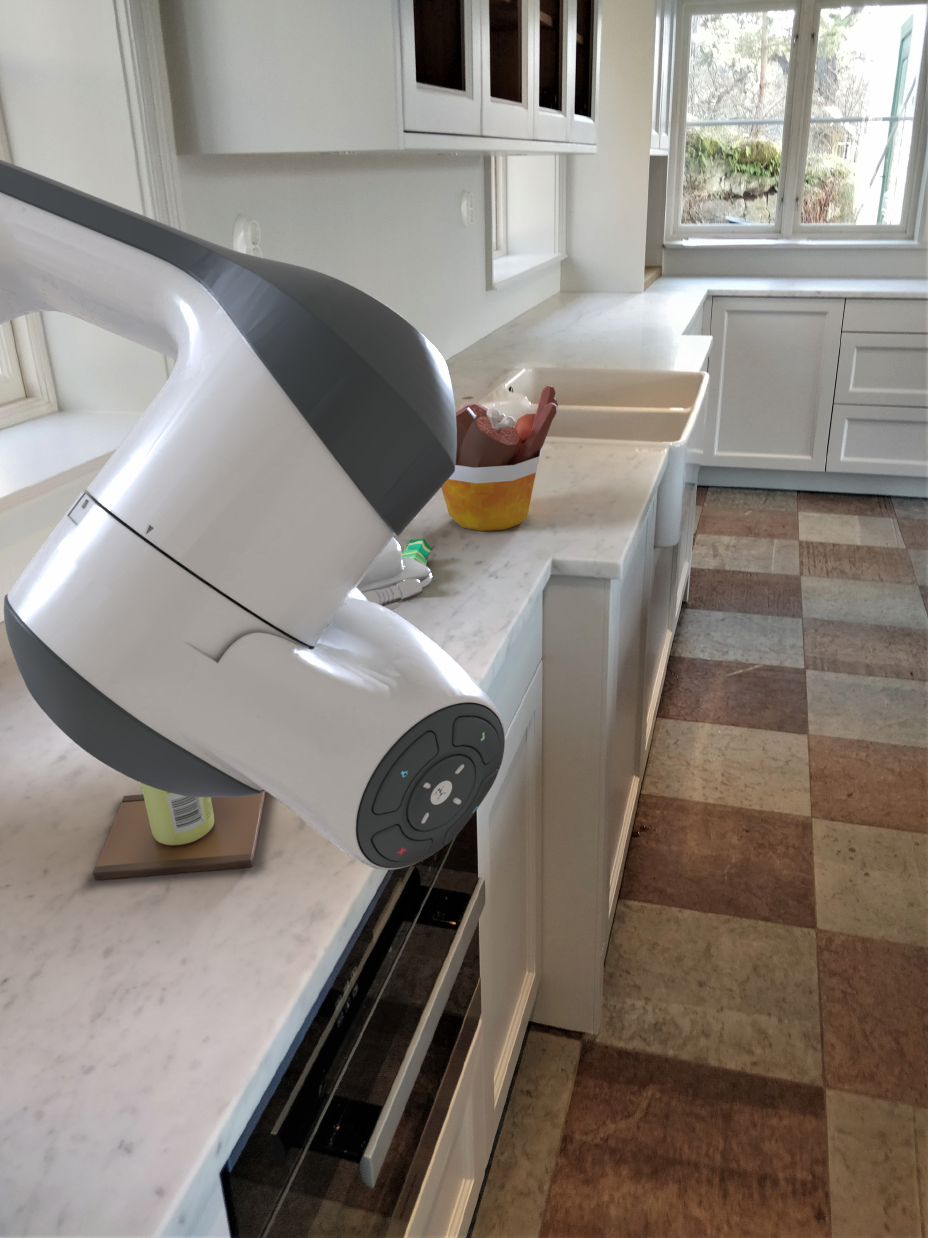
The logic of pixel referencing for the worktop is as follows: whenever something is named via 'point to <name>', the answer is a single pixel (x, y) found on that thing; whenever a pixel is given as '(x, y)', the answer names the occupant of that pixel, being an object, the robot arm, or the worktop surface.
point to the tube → (177, 816)
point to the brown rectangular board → (218, 849)
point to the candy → (417, 550)
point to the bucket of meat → (496, 464)
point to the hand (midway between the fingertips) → (175, 553)
